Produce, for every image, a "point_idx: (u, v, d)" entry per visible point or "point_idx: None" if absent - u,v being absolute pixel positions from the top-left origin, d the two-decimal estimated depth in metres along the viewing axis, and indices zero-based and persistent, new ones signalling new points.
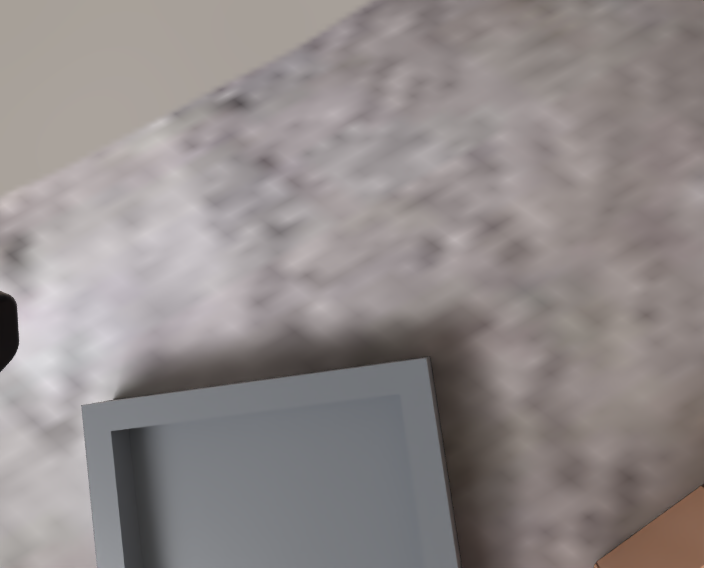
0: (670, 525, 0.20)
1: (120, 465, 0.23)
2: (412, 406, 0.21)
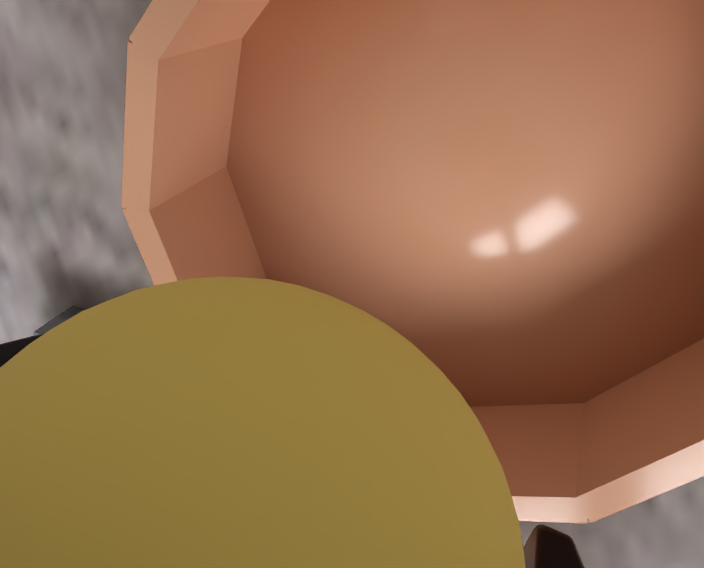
0: None
1: None
2: None
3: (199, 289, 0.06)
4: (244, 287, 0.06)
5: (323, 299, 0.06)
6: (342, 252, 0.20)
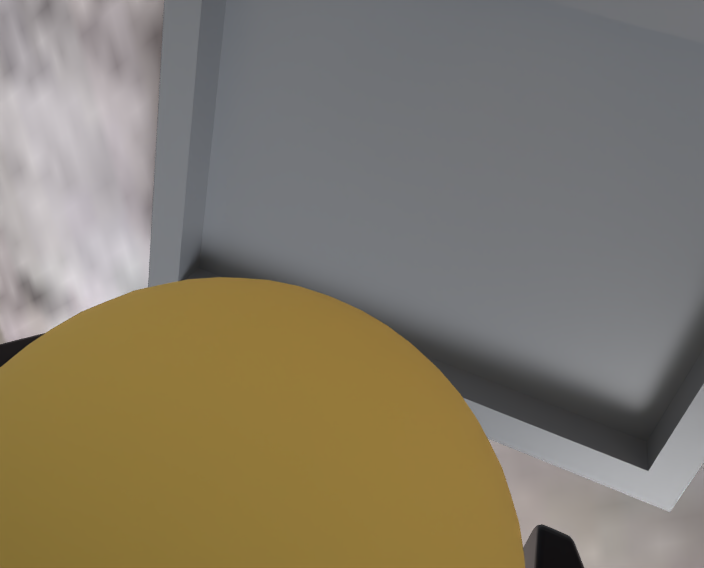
0: None
1: None
2: None
3: (197, 289, 0.06)
4: (243, 288, 0.06)
5: (322, 300, 0.06)
6: None
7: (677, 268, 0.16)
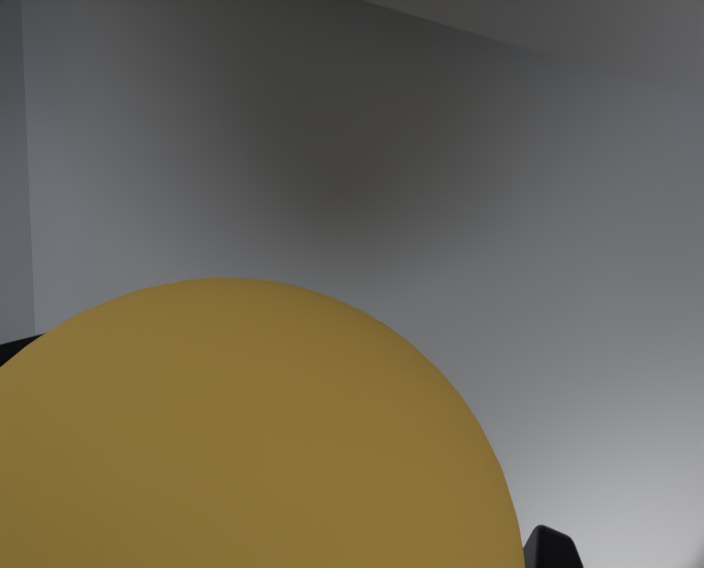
0: None
1: None
2: None
3: (197, 290, 0.06)
4: (243, 288, 0.06)
5: (322, 300, 0.06)
6: None
7: None
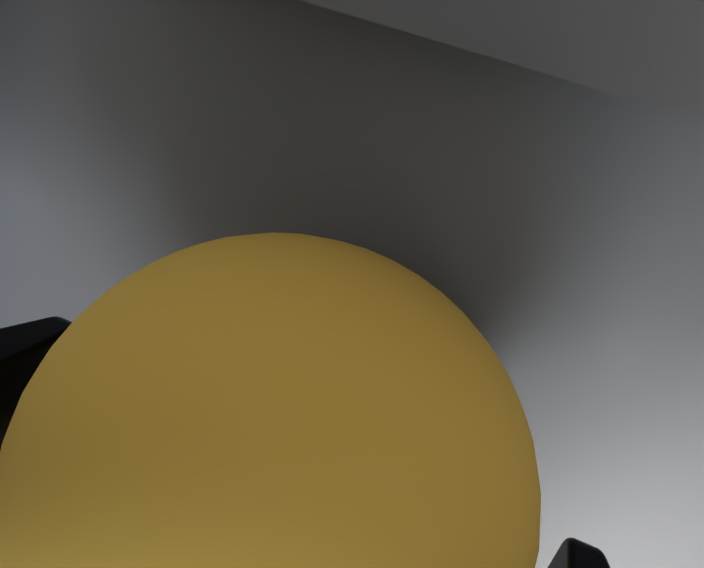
0: None
1: None
2: None
3: (258, 239, 0.07)
4: (297, 238, 0.07)
5: (364, 250, 0.07)
6: None
7: None
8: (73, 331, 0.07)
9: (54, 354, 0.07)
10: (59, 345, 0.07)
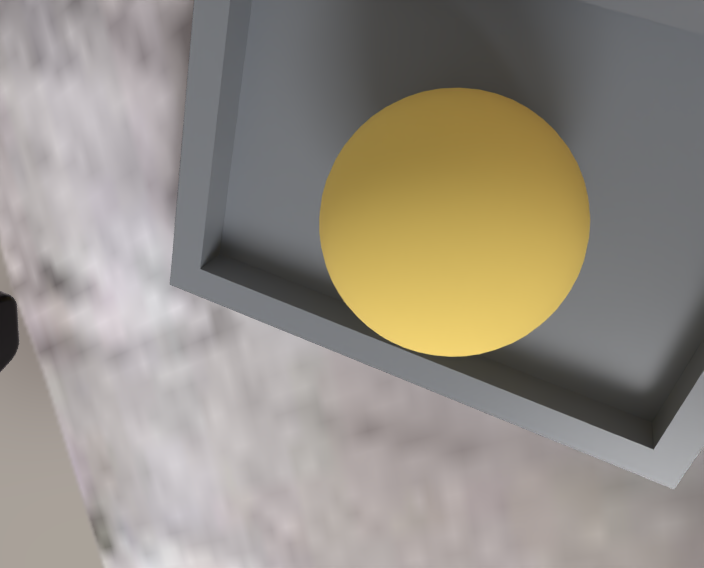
0: None
1: (241, 277, 0.21)
2: None
3: None
4: (468, 88, 0.15)
5: None
6: None
7: (683, 253, 0.17)
8: (370, 126, 0.14)
9: (364, 136, 0.14)
10: (364, 133, 0.14)
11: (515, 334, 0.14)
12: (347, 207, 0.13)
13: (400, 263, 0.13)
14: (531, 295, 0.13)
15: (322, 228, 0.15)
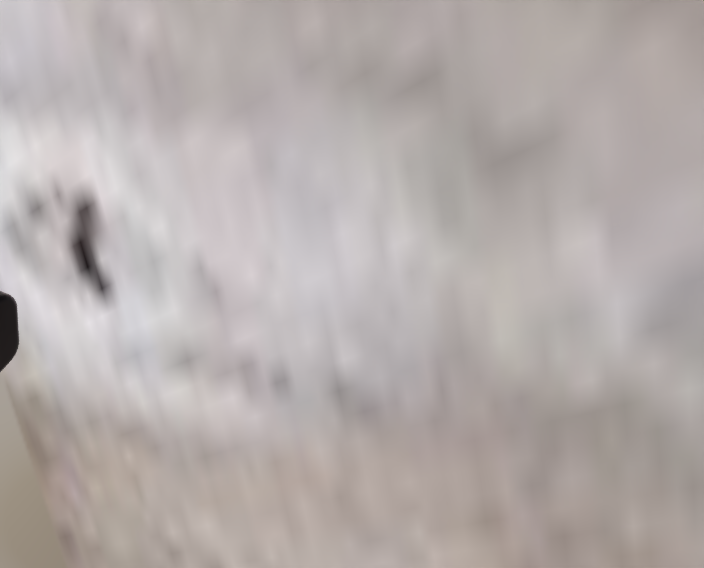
0: None
1: None
2: None
3: None
4: None
5: None
6: None
7: None
8: None
9: None
10: None
11: None
12: None
13: None
14: None
15: None
